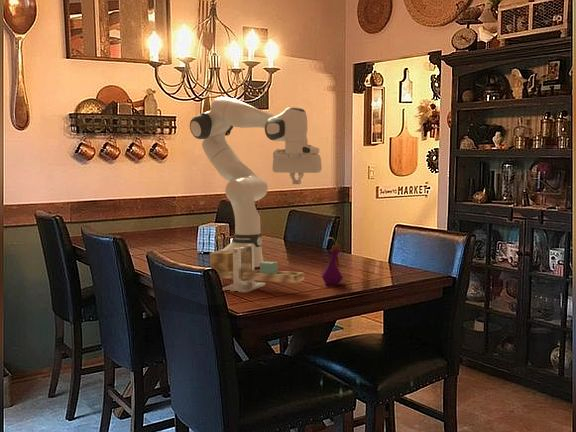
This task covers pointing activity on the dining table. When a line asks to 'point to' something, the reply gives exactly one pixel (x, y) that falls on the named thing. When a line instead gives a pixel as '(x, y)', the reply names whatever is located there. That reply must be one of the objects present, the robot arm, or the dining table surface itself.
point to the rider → (268, 267)
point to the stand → (237, 275)
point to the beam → (248, 268)
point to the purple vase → (332, 268)
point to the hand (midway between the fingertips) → (296, 184)
